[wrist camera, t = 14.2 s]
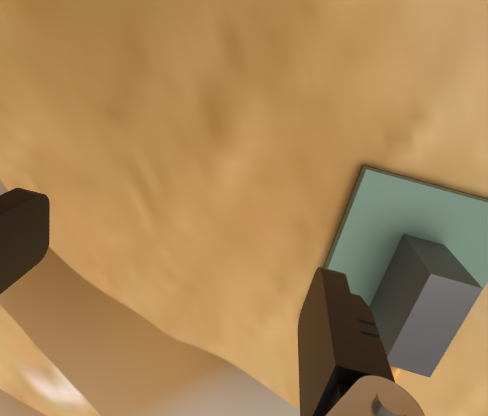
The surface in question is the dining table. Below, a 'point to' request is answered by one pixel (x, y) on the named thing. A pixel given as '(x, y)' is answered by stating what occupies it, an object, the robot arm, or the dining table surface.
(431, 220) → the header board
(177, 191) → the dining table surface
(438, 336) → the block
